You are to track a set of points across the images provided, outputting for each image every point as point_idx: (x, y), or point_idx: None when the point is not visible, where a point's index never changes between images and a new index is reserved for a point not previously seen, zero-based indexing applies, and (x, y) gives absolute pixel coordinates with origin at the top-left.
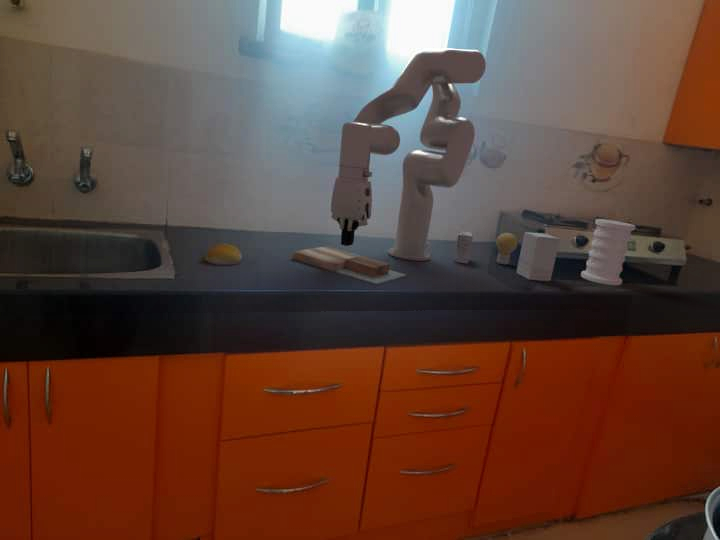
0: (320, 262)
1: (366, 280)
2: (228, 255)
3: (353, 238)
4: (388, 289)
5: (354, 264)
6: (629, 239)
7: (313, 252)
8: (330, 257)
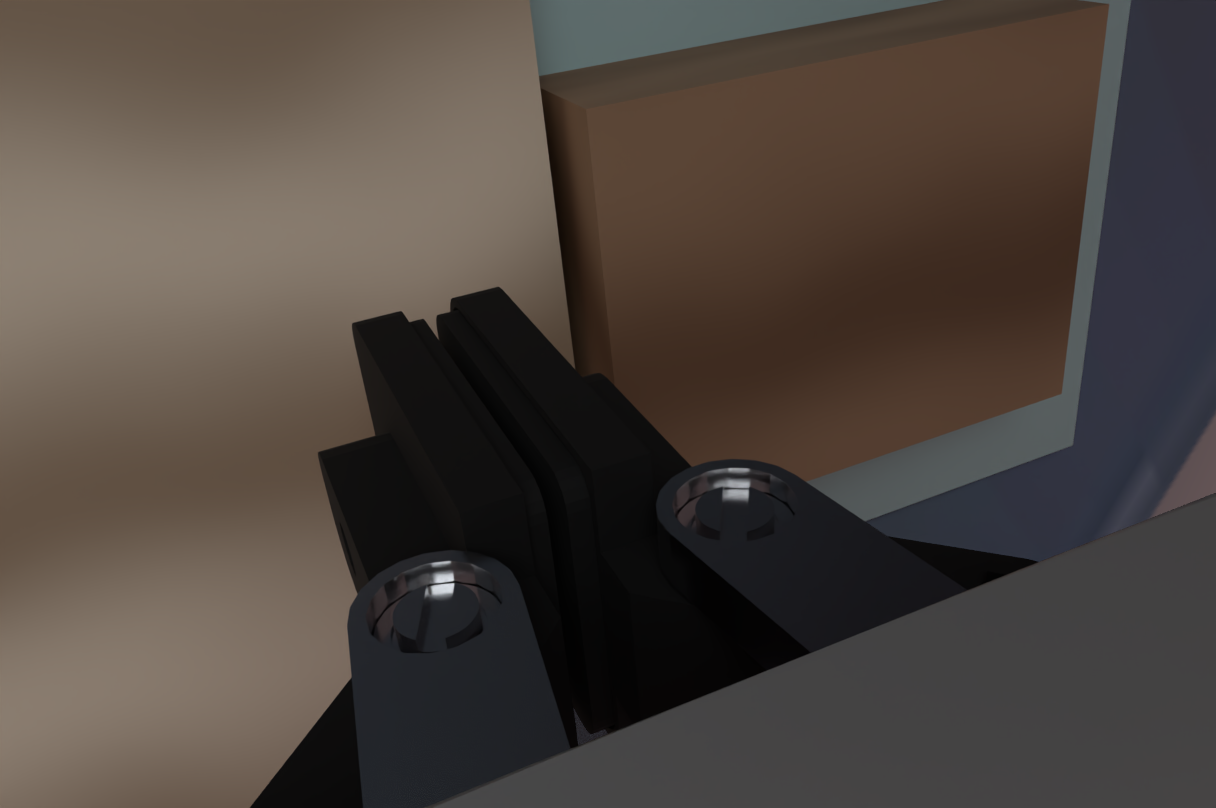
0: None
1: (970, 481)
2: None
3: (626, 415)
4: (1169, 411)
5: None
6: None
7: None
8: (286, 574)
